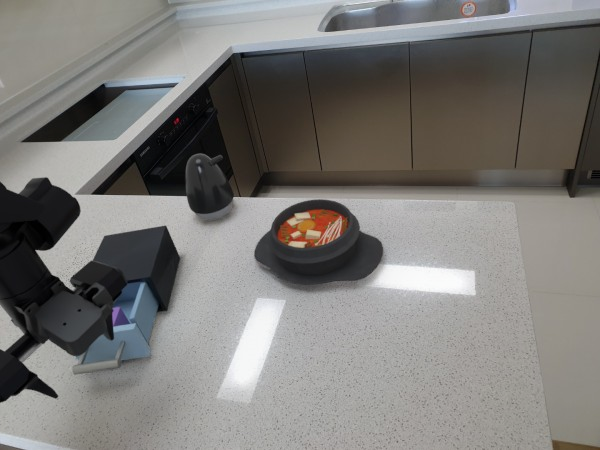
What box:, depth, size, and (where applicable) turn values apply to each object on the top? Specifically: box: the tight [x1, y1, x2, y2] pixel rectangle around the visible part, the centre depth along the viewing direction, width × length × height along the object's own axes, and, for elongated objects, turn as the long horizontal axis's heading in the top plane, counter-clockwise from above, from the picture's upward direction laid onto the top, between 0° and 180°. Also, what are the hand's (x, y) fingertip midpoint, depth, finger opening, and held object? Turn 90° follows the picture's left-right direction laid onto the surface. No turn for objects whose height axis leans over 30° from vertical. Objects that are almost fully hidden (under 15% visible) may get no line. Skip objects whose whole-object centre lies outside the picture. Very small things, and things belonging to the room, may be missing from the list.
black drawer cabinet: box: [92, 225, 181, 313], centre depth 87 cm, size 15×13×9 cm
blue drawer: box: [72, 281, 159, 375], centre depth 76 cm, size 18×11×7 cm, turn 2°
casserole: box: [253, 198, 384, 286], centre depth 85 cm, size 25×19×8 cm
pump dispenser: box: [184, 153, 235, 221], centre depth 101 cm, size 10×10×15 cm
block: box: [112, 307, 130, 327], centre depth 76 cm, size 4×4×4 cm
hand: (84, 366), depth 59 cm, fingers open, 9 cm apart
